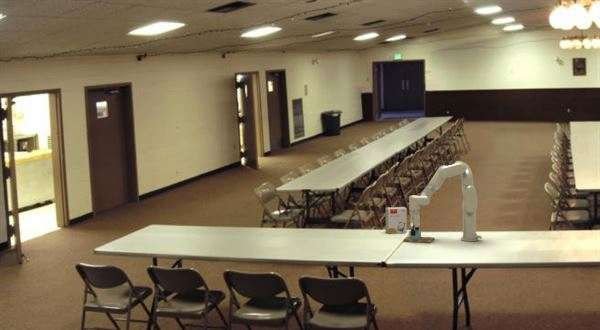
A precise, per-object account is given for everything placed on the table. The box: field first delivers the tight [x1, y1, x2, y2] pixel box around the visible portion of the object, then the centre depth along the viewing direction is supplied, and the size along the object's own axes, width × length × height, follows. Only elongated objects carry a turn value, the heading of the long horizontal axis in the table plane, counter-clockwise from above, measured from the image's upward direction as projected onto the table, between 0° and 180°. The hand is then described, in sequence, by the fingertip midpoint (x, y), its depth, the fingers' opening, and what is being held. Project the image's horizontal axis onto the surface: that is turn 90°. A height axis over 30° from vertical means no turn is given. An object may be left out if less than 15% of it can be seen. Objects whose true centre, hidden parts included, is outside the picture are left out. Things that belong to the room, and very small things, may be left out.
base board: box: [403, 235, 435, 245], centre depth 537 cm, size 20×14×6 cm
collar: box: [408, 229, 422, 240], centre depth 538 cm, size 7×7×6 cm
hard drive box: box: [385, 206, 408, 235], centre depth 567 cm, size 16×8×20 cm, turn 97°
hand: (414, 234), depth 538 cm, fingers open, 9 cm apart
